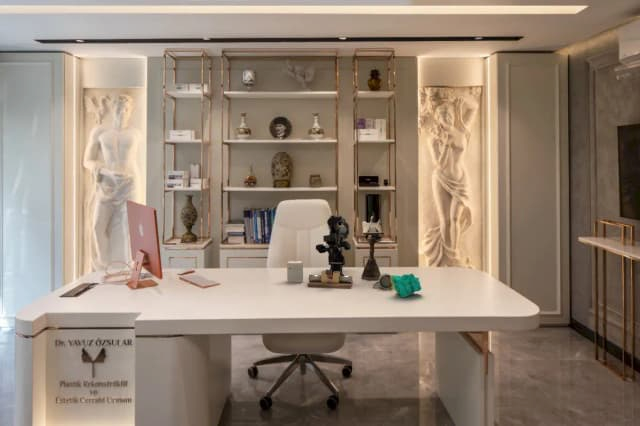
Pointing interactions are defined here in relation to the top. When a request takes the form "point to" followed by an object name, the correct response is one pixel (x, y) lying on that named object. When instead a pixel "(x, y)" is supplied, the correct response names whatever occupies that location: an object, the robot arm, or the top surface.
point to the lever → (329, 274)
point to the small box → (295, 271)
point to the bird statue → (371, 249)
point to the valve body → (336, 278)
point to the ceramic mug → (384, 281)
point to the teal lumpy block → (405, 284)
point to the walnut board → (330, 284)
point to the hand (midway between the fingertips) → (331, 261)
